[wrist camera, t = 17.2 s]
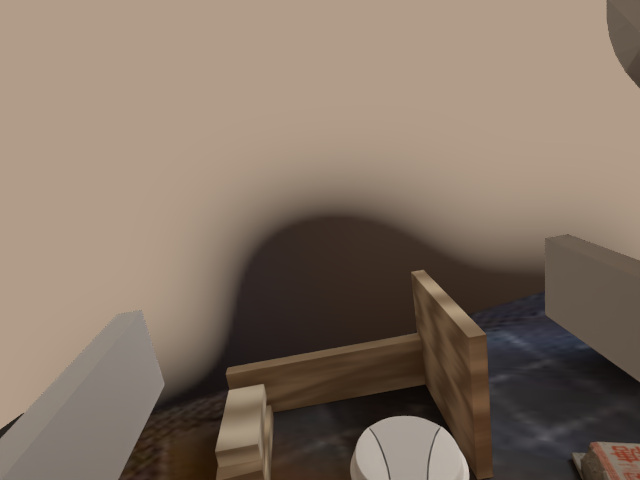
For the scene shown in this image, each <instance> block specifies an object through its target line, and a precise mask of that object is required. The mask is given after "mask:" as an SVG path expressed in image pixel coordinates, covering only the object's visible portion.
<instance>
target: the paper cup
mask: <svg viewBox="0 0 640 480" xmlns="http://www.w3.org/2000/svg"><path fill="white" fill-rule="evenodd" d="M350 474H351V479H352V480H469V469H468V465H467V462H466V459H465V457H464V456H463V454H462V452H461V451H460V449H459V447H458V445H457V443H456V442H455V440H454V439H453V437H452V436H451V435H450V434H449V433H448V432H447V431H446V430H445V429H444V428H443V427H440V426H439V425H437V424H435V423H433V422H431V421H428V420H426V419H423V418H419V417H414V416H395V417H390V418H386V419H383V420H381V421H379V422H377V423H375V424H373V425H372V426H370V427H369V428H367V429H366V430H365V431H364V432H363V433H362V435H361V437H360V438H359V440H358V442H357V445H356V448H355V451H354V454H353V456H352V459H351V465H350Z"/></svg>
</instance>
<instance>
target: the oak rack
mask: <svg viewBox="0 0 640 480" xmlns="http://www.w3.org/2000/svg"><path fill="white" fill-rule="evenodd" d="M411 274H412V282H413V294H414V304H415V313H416V323H417V333H416V334H411V335H405V336H400V337H394V338H389V339H383V340H378V341H372V342H367V343H361V344H356V345H350V346H345V347H339V348H334V349H329V350H323V351H318V352H312V353H307V354H301V355H295V356H290V357H284V358H279V359H273V360H269V361H262V362H257V363H251V364H246V365H240V366H235V367H229V368H228V369H227V373H226V377H227V381H228V385H229V389H230V390H233V389H239V388H244V387H250V386H255V385H260V384H264V387H265V392H266V396H267V400H266V406H268V405H271V408H272V412H273V413H274V412H279V411H285V410H290V409H295V408H301V407H306V406H311V405H317V404H322V403H328V402H333V401H338V400H344V399H349V398H354V397H360V396H365V395H371V394H376V393H381V392H387V391H392V390H397V389H403V388H408V387H413V386H419V385H424V384H426V386H427V388H428V390H429V392H430V394H431V395H432V397H433V399H434V401H435V403H436V405H437V406H438V408H439V410H440V412H441V414H442V416H443V417H444V419H445V421H446V423H447V425H448V427H449V429H450V430H451V432H452V434H453V436H454V438H455V440H456V441H457V443H458V445H459V447H460V449H461V451H462V453H463V454H464V456H465V458H466V460H467V462H468V464H469V465H470V467H471V469H472V471H473V473H474V475H475V477H476V478H477V480H480V479H485V478H490V477H493V466H492V445H491V424H490V403H489V382H488V361H487V340H486V334H485V333H484V332H483V331H482V330H481V329H480V328H479V326H478V325H477V324H476V323H475V322H474V321H473V320H472V319H471V318H470V317H469V316H468V315H467V314H466V313H465V312H464V311H463V310H462V309H461V308H460V307H459V306H458V305H457V304H456V303H455V302H454V301H453V300H452V299H451V298H450V297H449V296H448V295H447V294H446V293H445V292H444V291H443V290H442V289H441V288H440V287H439V286H438V285H437V283H436V282H435V281H434V280H433V279H431V277H430V276H429V275H428V274H427V273H426V272H425V271H424V270H421V271H415V272H411Z"/></svg>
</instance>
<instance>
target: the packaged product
mask: <svg viewBox="0 0 640 480" xmlns="http://www.w3.org/2000/svg"><path fill="white" fill-rule="evenodd" d="M571 456H572V458H573V461H574V463H575V465H576V468H577V470H578V472H579V474H580V476H581V478H582V480H640V444H633V443H614V442H612V443H610V442H592V443H590V445H589V449H588V453H571Z"/></svg>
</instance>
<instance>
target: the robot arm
mask: <svg viewBox="0 0 640 480" xmlns="http://www.w3.org/2000/svg"><path fill="white" fill-rule="evenodd" d="M607 24H608V30H609V37H610V40H611V43H612V46H613V49H614V52H615V54H616V56H617V58H618V60H619V61H620V63H621V65H622V67H623V68H624V70H625V72H626V73H627V74H628V75H629V76H630V78H631V79H632V80H633V81H634V82H635V83H636V85H637V86H638V87H639V88H640V0H607ZM545 315H547V316H548V317H549V318H551V319H552V320H554V321H555V322H556V323H558V324H559V325H561V326H562V327H563V328H565V329H566V330H568V331H569V332H570V333H572V334H573V335H575V336H576V337H577V338H579V339H580V340H582V341H583V342H584V343H586V344H587V345H589V346H590V347H591V348H593V349H594V350H596V351H597V352H598V353H600V354H601V355H603V356H604V357H605V358H607V359H608V360H610V361H611V362H612V363H614V364H615V365H617V366H618V367H620V368H621V369H622V370H624V371H625V372H627V373H628V374H629V375H631V376H632V377H634V378H635V379H636V380H638V381H639V382H640V261H639V260H636V259H634V258H631V257H628V256H626V255H623V254H620V253H617V252H614V251H612V250H609V249H606V248H604V247H601V246H598V245H596V244H593V243H590V242H587V241H585V240H582V239H579V238H576V237H574V236H571V235H568V234H567V235H561V236H556V237H550V238H545ZM164 385H165V384H164V381H163V377H162V374H161V371H160V368H159V365H158V361H157V358H156V355H155V352H154V349H153V345H152V343H151V339H150V336H149V332H148V329H147V326H146V323H145V320H144V316H143V313H142V310H139V311H133V312H129V313H122V314H118V315H116V316H115V317H114V318H113V319H112V321H111V322H110V323H109V324H108V325H107V326H106V327H105V328H104V329H103V330H102V331H101V332H100V333H99V334H98V336H97V337H95V339H94V340H93V341H92V342H91V343H90V344H89V345H88V346H87V347H86V348H85V349H84V350H83V351H82V353H80V354H79V356H78V357H77V358H76V359H75V360H74V361H73V362H72V363H71V364H70V365H69V366H68V367H67V368H66V370H64V372H63V373H62V374H61V375H60V376H59V377H58V378H57V379H56V380H55V381H54V382H53V383H52V384H51V385H50V386H49V387H48V389H47V390H46V391H45V392H44V393H43V394H42V395H41V396H40V397H39V398H38V399H37V400H36V401H35V402H34V403H33V404H32V406H31V407H30V408H29V409H28V410H27V411H26V412H25V413H23V414H21V415H20V416H18V417H17V418H16V419H14V420H13V421H11V422H10V423H9V424H7V425H6V426H5V427H3V428H2V429H0V480H118V479H119V477H120V474H121V472H122V470H123V468H124V466H125V464H126V462H127V460H128V458H129V456H130V454H131V452H132V450H133V448H134V446H135V444H136V442H137V440H138V438H139V436H140V434H141V432H142V430H143V428H144V426H145V424H146V422H147V420H148V418H149V415H150V413H151V411H152V409H153V407H154V405H155V403H156V401H157V399H158V397H159V395H160V393H161V391H162V389H163V387H164Z"/></svg>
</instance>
